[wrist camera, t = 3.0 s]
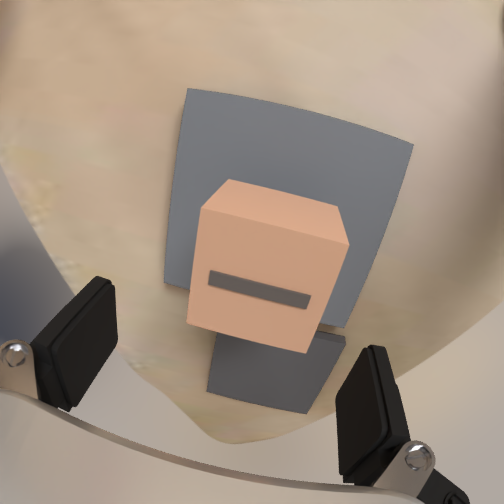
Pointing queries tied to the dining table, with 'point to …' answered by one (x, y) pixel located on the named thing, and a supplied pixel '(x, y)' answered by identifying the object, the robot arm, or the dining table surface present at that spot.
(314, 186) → the stand
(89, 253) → the dining table surface
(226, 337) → the pad
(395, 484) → the robot arm
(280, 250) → the tan slotted box
